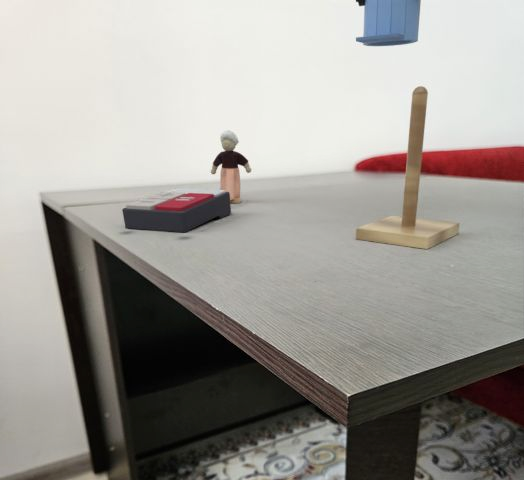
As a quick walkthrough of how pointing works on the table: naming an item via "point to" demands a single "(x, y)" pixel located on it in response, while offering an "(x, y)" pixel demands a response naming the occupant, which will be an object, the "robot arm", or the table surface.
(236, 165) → the grandmother figurine
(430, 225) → the hat stand
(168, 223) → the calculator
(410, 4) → the blue ribbed waste bin
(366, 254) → the table surface
